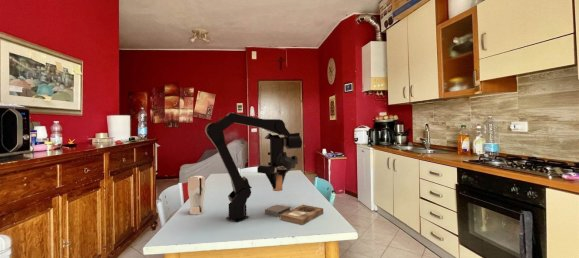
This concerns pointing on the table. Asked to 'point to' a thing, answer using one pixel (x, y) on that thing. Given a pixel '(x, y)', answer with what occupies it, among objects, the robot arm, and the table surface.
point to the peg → (278, 183)
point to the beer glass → (196, 194)
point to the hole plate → (301, 214)
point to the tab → (276, 210)
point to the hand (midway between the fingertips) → (277, 187)
